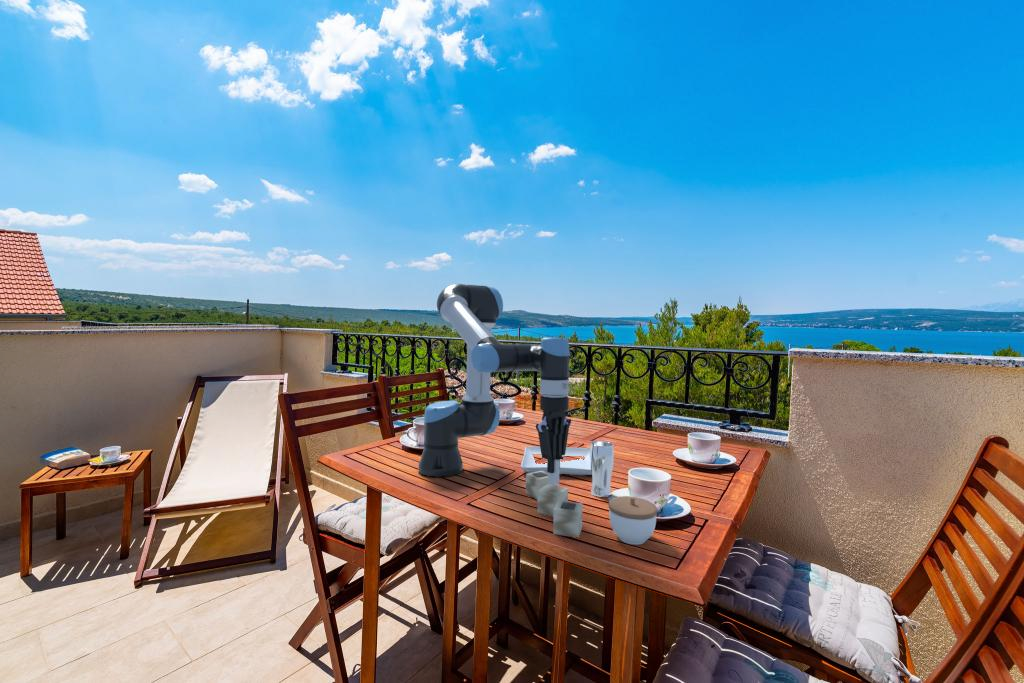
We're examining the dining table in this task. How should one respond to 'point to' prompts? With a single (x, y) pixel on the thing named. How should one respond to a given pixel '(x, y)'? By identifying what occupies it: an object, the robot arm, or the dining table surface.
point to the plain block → (550, 498)
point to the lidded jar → (632, 519)
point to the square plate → (565, 467)
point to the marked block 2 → (567, 518)
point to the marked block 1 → (535, 482)
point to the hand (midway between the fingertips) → (553, 483)
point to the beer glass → (601, 467)
